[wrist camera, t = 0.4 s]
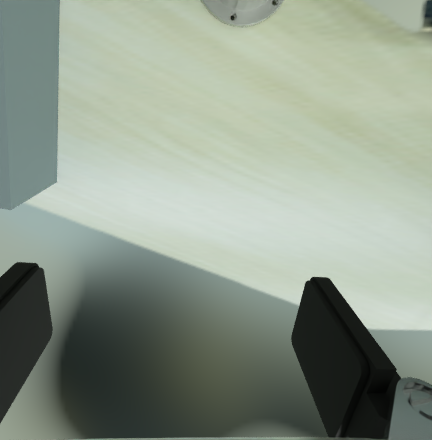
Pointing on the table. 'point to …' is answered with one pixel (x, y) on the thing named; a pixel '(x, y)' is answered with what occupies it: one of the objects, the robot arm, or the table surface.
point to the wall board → (28, 98)
